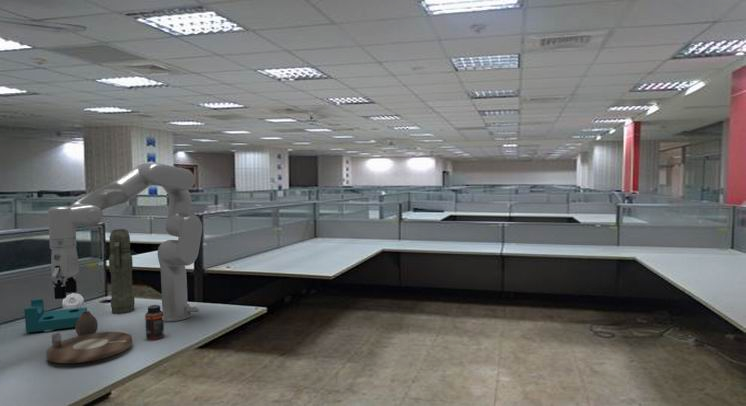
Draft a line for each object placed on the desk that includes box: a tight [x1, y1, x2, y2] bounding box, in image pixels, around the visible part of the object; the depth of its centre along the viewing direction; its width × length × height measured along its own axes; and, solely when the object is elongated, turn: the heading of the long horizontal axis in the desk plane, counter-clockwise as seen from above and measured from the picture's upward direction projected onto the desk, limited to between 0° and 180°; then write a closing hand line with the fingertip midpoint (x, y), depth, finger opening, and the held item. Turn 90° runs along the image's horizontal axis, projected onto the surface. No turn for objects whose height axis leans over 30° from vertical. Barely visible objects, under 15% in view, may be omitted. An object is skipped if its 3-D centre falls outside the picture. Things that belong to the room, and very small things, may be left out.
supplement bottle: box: [144, 304, 165, 341], centre depth 169 cm, size 6×6×11 cm
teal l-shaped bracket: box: [23, 298, 88, 334], centre depth 182 cm, size 18×11×10 cm, turn 113°
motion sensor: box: [61, 292, 85, 310], centre depth 204 cm, size 8×8×8 cm
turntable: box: [45, 331, 133, 364], centre depth 155 cm, size 24×24×6 cm
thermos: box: [108, 228, 135, 315], centre depth 202 cm, size 9×12×35 cm
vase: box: [74, 310, 99, 336], centre depth 172 cm, size 7×7×9 cm
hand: (66, 295), depth 160 cm, fingers open, 7 cm apart
